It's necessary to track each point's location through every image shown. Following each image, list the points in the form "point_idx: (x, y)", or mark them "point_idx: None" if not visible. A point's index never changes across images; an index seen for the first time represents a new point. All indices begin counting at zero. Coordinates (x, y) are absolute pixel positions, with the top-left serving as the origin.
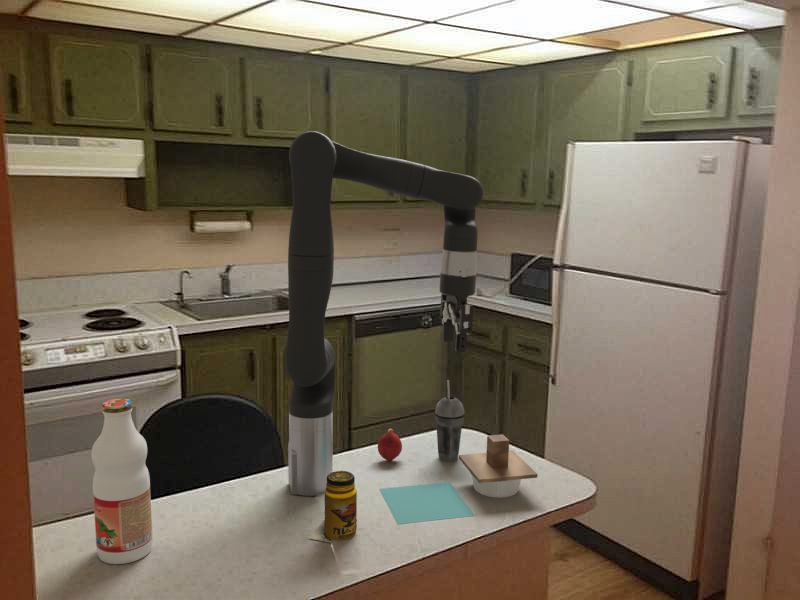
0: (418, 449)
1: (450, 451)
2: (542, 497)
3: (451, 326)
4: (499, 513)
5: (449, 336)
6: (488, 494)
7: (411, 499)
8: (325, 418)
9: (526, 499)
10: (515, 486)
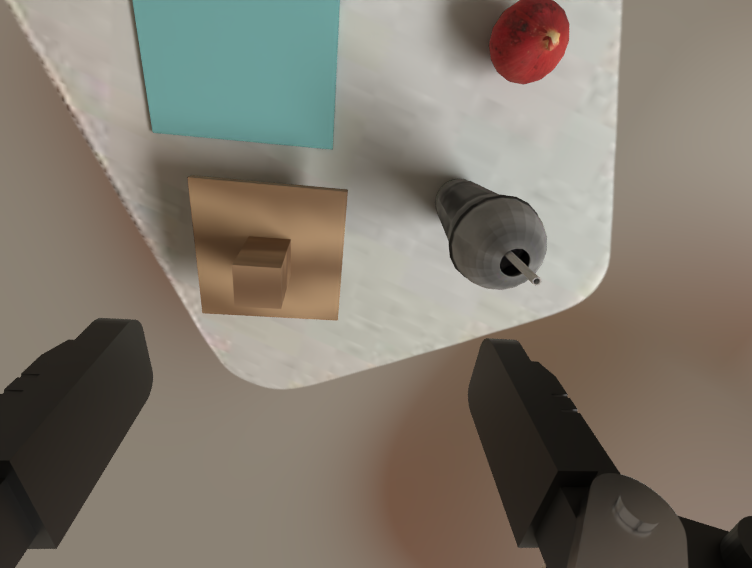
0: (541, 155)
1: (440, 203)
2: None
3: (520, 516)
4: (172, 193)
5: (488, 409)
6: None
7: (257, 3)
8: None
9: None
10: None
